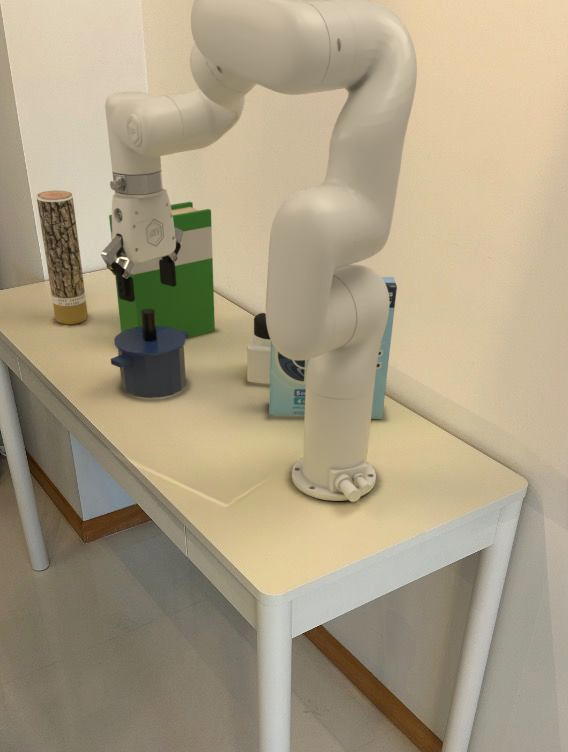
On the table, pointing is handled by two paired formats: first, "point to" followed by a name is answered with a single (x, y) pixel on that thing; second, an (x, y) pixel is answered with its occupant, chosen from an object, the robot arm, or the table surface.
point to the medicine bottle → (259, 352)
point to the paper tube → (62, 256)
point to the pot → (152, 373)
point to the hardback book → (177, 280)
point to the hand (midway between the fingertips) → (148, 292)
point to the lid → (149, 338)
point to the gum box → (292, 373)
